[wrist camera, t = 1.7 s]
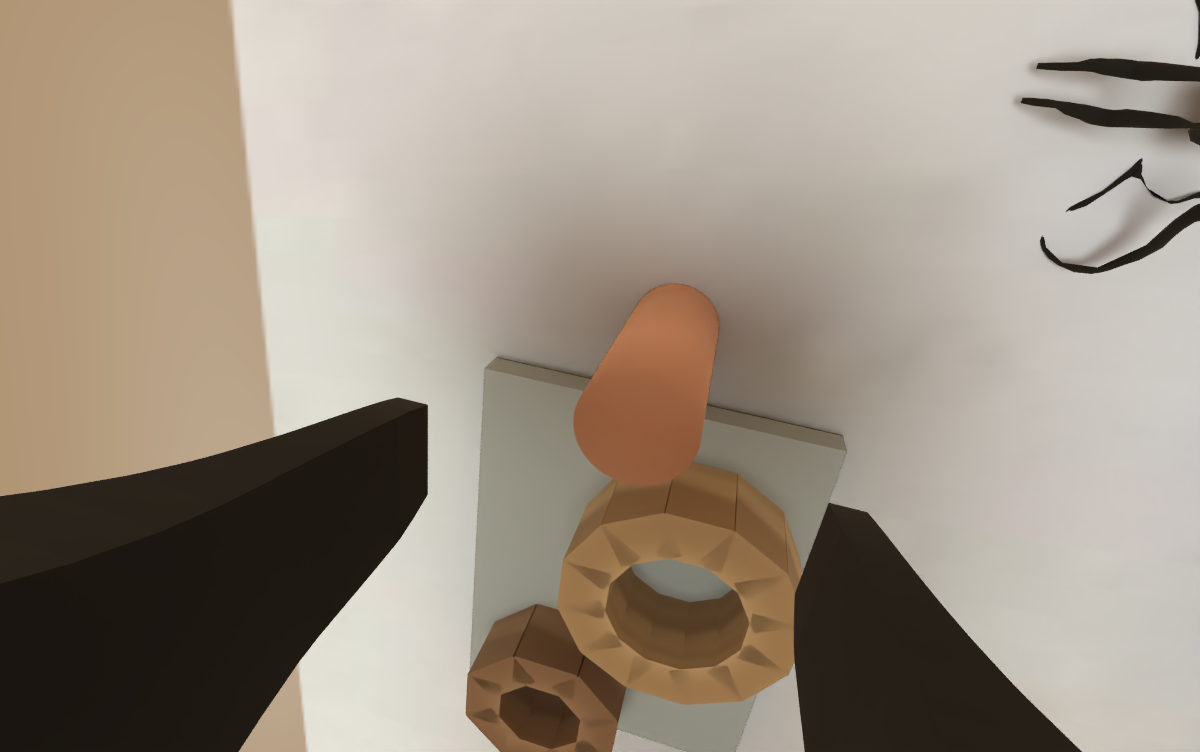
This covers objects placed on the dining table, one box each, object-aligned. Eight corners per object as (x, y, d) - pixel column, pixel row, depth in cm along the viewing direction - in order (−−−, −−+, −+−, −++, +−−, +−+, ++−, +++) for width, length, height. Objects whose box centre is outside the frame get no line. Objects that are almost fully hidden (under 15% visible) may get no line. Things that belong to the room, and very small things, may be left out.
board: (731, 743, 26) (730, 765, 25) (478, 663, 28) (469, 681, 27) (842, 435, 19) (847, 451, 18) (496, 357, 21) (484, 368, 20)
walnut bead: (616, 728, 26) (603, 789, 23) (489, 687, 27) (464, 742, 24) (638, 633, 23) (625, 690, 21) (496, 591, 24) (469, 641, 22)
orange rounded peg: (709, 374, 19) (686, 498, 13) (626, 356, 20) (567, 468, 13) (728, 293, 18) (714, 387, 12) (639, 276, 18) (580, 357, 12)
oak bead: (765, 656, 22) (766, 730, 19) (572, 600, 23) (549, 663, 21) (824, 494, 19) (835, 557, 16) (596, 439, 20) (572, 489, 17)
